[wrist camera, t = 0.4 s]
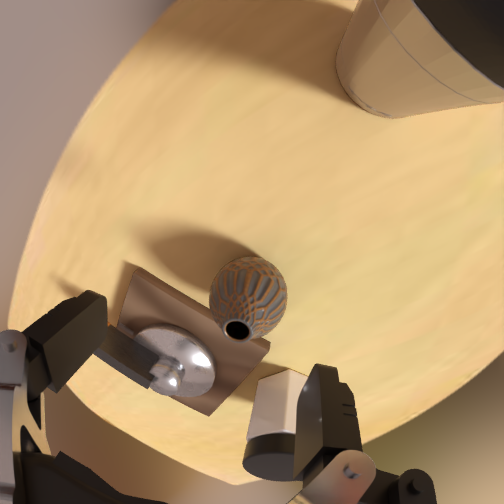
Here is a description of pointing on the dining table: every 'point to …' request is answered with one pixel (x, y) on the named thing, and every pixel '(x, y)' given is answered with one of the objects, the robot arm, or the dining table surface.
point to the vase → (247, 299)
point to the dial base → (197, 323)
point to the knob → (161, 359)
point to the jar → (273, 427)
